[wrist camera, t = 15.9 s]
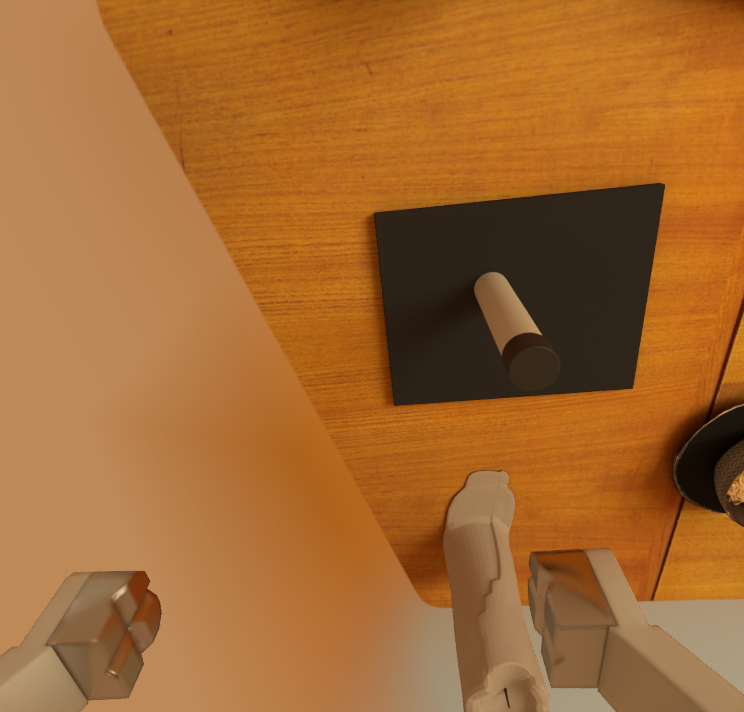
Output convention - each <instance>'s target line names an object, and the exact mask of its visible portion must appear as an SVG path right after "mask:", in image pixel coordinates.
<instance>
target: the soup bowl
mask: <svg viewBox="0 0 744 712" xmlns="http://www.w3.org/2000/svg"><path fill="white" fill-rule="evenodd" d="M673 477H674V479H673V481H674V483H675V487H676V489H677V490H678V492H679V493H680V495H682V496H683V497H684V499H686V500H687V501H688V502H690V503H692V504H693V505H696V506H699V507H702V508H704V509H707V510H710V511H712V512H717V513H727V515H728V516H729V517H730V518H731V519H732V521H734V522H736V523H738V524H739V525H741V526H743V527H744V404H741V405H737V406H735V407H732V408H730V409H728V410H726V411H723V412H722V413H720V414H719V415H718V416H717V417H715V418H714V419H712V420H711V421H710V422H708V423H707V424H705V425H704V426H703V427H702V428H701V429H700V430H698V431H697V432H696V433H695V434H694V435H693V436H692V438H691V439H690V440H689V441H688V442H687V443H686V444H685V445H684V446H683V447H682V448H681V449H680V451H679V452H678V453H677V454H676V456H675V459H674V464H673Z"/></svg>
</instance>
